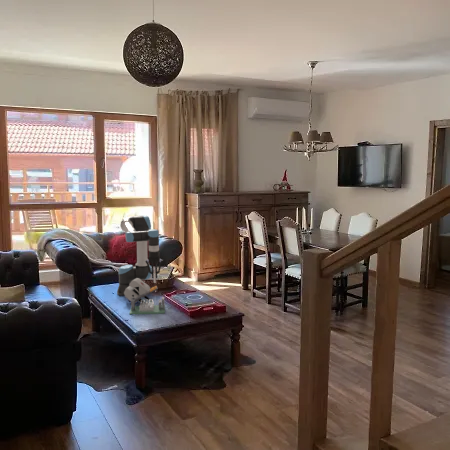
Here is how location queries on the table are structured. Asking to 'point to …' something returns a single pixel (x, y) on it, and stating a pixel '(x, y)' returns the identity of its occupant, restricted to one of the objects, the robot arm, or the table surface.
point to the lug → (161, 304)
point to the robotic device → (136, 290)
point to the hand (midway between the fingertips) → (154, 282)
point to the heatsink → (146, 306)
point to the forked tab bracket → (132, 304)
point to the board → (156, 311)
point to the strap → (146, 293)
